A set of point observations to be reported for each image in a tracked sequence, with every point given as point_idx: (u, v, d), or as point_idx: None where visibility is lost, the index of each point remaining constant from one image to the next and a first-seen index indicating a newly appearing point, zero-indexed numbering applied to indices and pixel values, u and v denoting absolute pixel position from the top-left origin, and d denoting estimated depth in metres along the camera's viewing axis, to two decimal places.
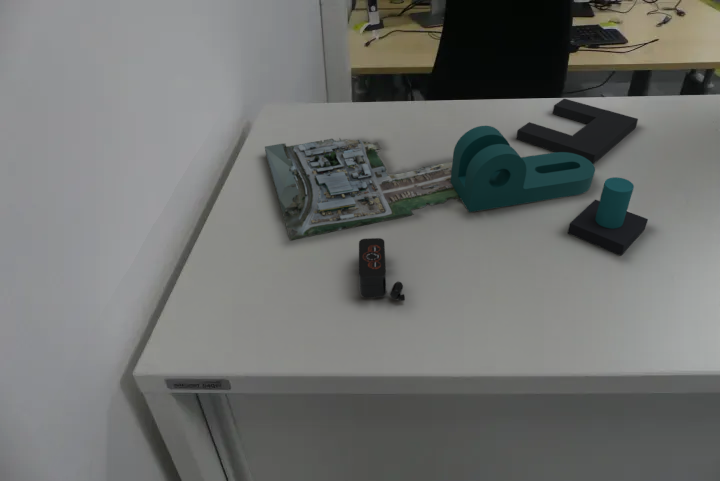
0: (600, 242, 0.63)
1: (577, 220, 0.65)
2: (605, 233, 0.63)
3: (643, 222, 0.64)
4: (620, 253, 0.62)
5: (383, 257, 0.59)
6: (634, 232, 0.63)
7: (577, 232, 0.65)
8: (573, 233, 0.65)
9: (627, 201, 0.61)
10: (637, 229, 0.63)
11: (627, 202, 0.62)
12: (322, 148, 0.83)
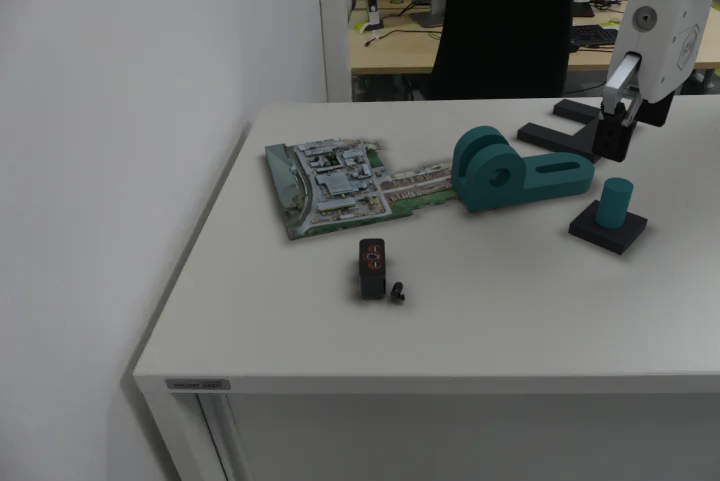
0: (600, 242, 0.63)
1: (577, 220, 0.65)
2: (605, 233, 0.63)
3: (643, 222, 0.64)
4: (620, 253, 0.62)
5: (383, 257, 0.59)
6: (634, 232, 0.63)
7: (577, 232, 0.65)
8: (573, 233, 0.65)
9: (627, 201, 0.61)
10: (637, 229, 0.63)
11: (627, 202, 0.62)
12: (322, 148, 0.83)
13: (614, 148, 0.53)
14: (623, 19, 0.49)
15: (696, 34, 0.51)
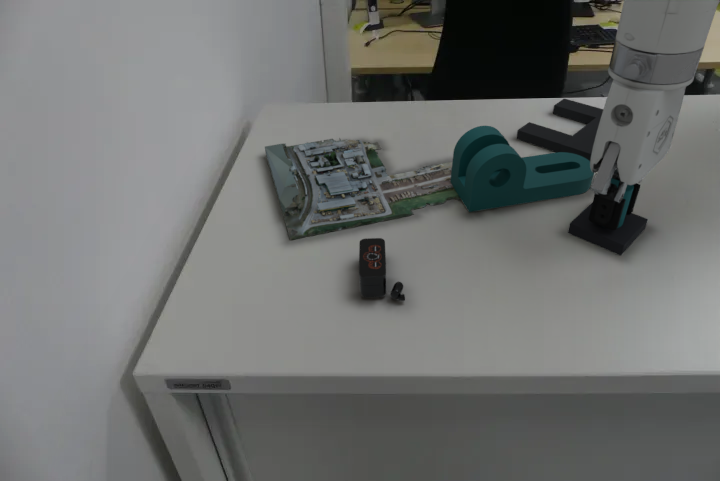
0: (600, 242, 0.63)
1: (577, 220, 0.65)
2: (605, 233, 0.63)
3: (643, 222, 0.64)
4: (620, 253, 0.62)
5: (383, 257, 0.59)
6: (634, 232, 0.63)
7: (577, 232, 0.65)
8: (573, 233, 0.65)
9: (627, 201, 0.61)
10: (637, 229, 0.63)
11: (627, 202, 0.62)
12: (322, 148, 0.83)
13: (608, 219, 0.61)
14: (603, 113, 0.54)
15: (670, 122, 0.56)
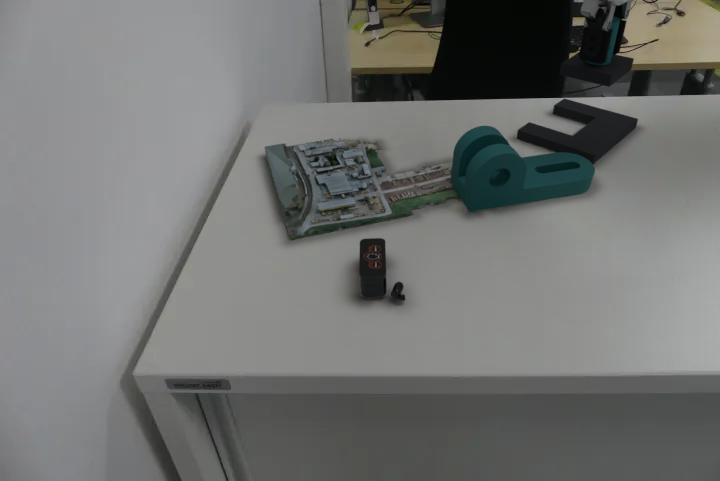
0: (590, 77, 0.68)
1: (568, 61, 0.70)
2: (594, 68, 0.67)
3: (629, 60, 0.69)
4: (608, 84, 0.66)
5: (384, 257, 0.59)
6: (621, 66, 0.67)
7: (569, 72, 0.69)
8: (564, 73, 0.70)
9: (614, 34, 0.66)
10: (624, 64, 0.68)
11: (614, 36, 0.66)
12: (322, 148, 0.83)
13: (597, 51, 0.66)
14: None
15: None
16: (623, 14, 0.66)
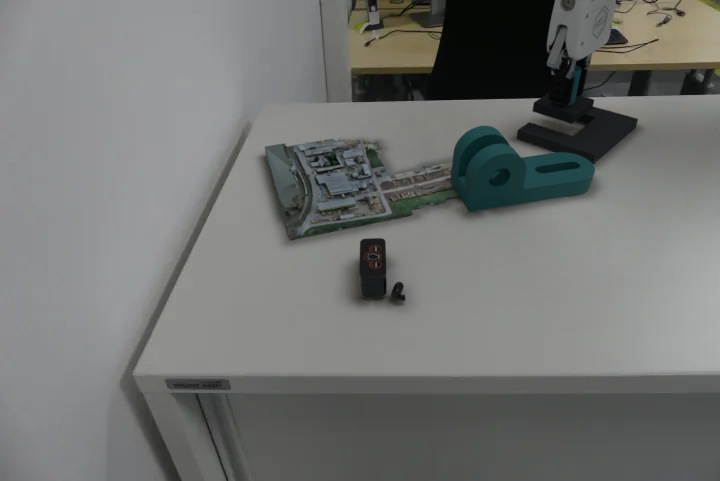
0: (556, 115, 0.82)
1: (539, 100, 0.83)
2: (560, 108, 0.81)
3: (590, 101, 0.83)
4: (571, 122, 0.80)
5: (384, 257, 0.59)
6: (582, 107, 0.81)
7: (539, 109, 0.83)
8: (536, 110, 0.83)
9: (576, 81, 0.80)
10: (585, 105, 0.82)
11: (576, 82, 0.80)
12: (322, 148, 0.83)
13: (562, 94, 0.80)
14: (555, 2, 0.73)
15: (606, 13, 0.74)
16: (585, 64, 0.80)
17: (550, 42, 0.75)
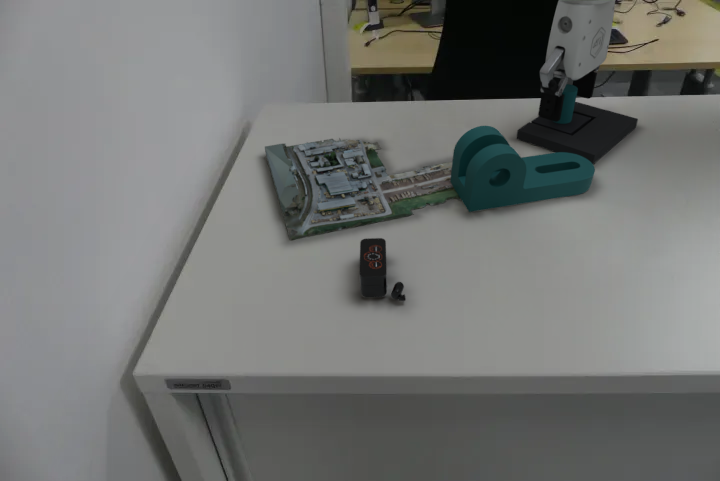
0: None
1: (537, 119, 0.85)
2: (557, 126, 0.83)
3: (587, 119, 0.84)
4: None
5: (384, 257, 0.59)
6: (579, 125, 0.83)
7: None
8: None
9: (573, 100, 0.82)
10: (581, 124, 0.84)
11: (573, 101, 0.82)
12: (322, 148, 0.83)
13: (551, 111, 0.79)
14: (552, 25, 0.74)
15: (603, 33, 0.76)
16: (594, 67, 0.83)
17: None
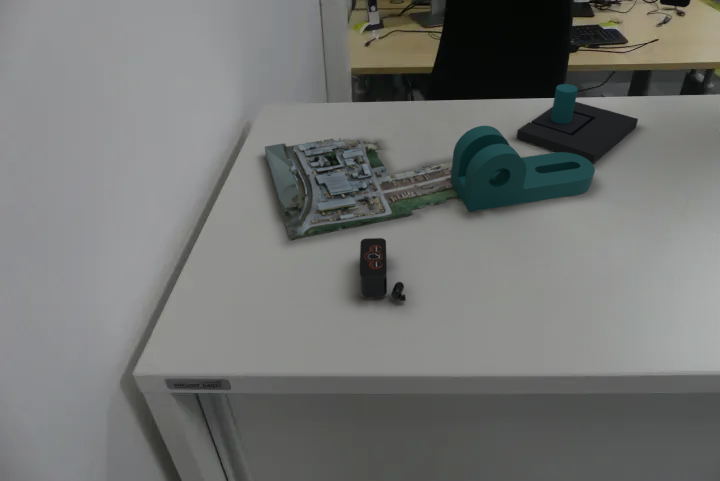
0: None
1: (537, 119, 0.85)
2: (557, 126, 0.83)
3: (587, 119, 0.84)
4: None
5: (384, 257, 0.59)
6: (579, 125, 0.83)
7: None
8: None
9: (573, 100, 0.82)
10: (581, 124, 0.84)
11: (573, 101, 0.82)
12: (322, 148, 0.83)
13: None
14: None
15: None
16: None
17: None
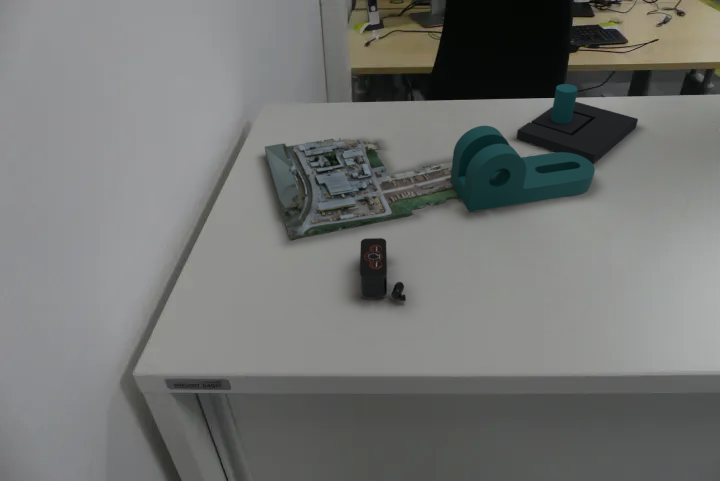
0: None
1: (537, 119, 0.85)
2: (557, 126, 0.83)
3: (587, 119, 0.84)
4: None
5: (384, 257, 0.59)
6: (579, 125, 0.83)
7: None
8: None
9: (573, 100, 0.82)
10: (581, 124, 0.84)
11: (573, 101, 0.82)
12: (322, 148, 0.83)
13: None
14: None
15: None
16: None
17: None
